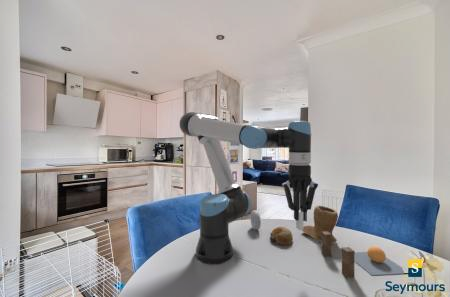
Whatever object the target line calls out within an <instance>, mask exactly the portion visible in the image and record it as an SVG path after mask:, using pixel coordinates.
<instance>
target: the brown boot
mask: <svg viewBox="0 0 450 297" xmlns="http://www.w3.org/2000/svg"><path fill="white" fill-rule="evenodd" d="M338 218H339V214H338V212H337V211H336V210H335V209H334V208H330V207H328V206H324V205H316V206H315V207H314V209H313V224H314V226H313V225H303V230H301V231H302V232H303V233H305V234H306V235H308V236H309V237H311V238H312V239H314V240H316V241H317V242H320V243H322V232H327V231H328V232H329V233H331V234H332V244H334V243H337V241H338V240H337V238H336V237H335V236H334V235H333V231H334V229H335V226H336V224H337V222H338Z"/></svg>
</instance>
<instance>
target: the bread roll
mask: <svg viewBox="0 0 450 297" xmlns="http://www.w3.org/2000/svg"><path fill="white" fill-rule="evenodd" d="M269 233H270V234H269V235H270V237H269V240H271V242H273V243H274V244H276V245H280V246H289V245H292V244H293V243H294V241H293V234H292V231H291V230H290V228H287V227H286V226H278V227H275V228H274V229H273V230H272V231H271V232H269Z"/></svg>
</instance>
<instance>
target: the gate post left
mask: <svg viewBox="0 0 450 297" xmlns="http://www.w3.org/2000/svg"><path fill="white" fill-rule="evenodd" d="M332 235H333V233H332V234H331V233H329V232H328V231H327V232H322V242H321V255H322V256H324V258H332V256H333V255H332V254H333V253H332V244H333V243H332Z"/></svg>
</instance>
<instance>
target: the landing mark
mask: <svg viewBox="0 0 450 297" xmlns="http://www.w3.org/2000/svg"><path fill="white" fill-rule="evenodd" d="M367 252H368V251H355V255H354V263H356V264H357V265H358V266H360V267H361V268H362V269H363V270H364V271H366V272H367V273H368V274H369V275H370V276H374V277H375V276H389V275H405V274H404V271H403V269H402V268H403V267H402V266H400V265H399V264H397V263H396V262H394V261H393V260H391V259H389V258H388V257H386V259H385V261H384V262H382V263H376V262H374V261H372V260H371V259H370V258H369V256H368V253H367Z"/></svg>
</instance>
